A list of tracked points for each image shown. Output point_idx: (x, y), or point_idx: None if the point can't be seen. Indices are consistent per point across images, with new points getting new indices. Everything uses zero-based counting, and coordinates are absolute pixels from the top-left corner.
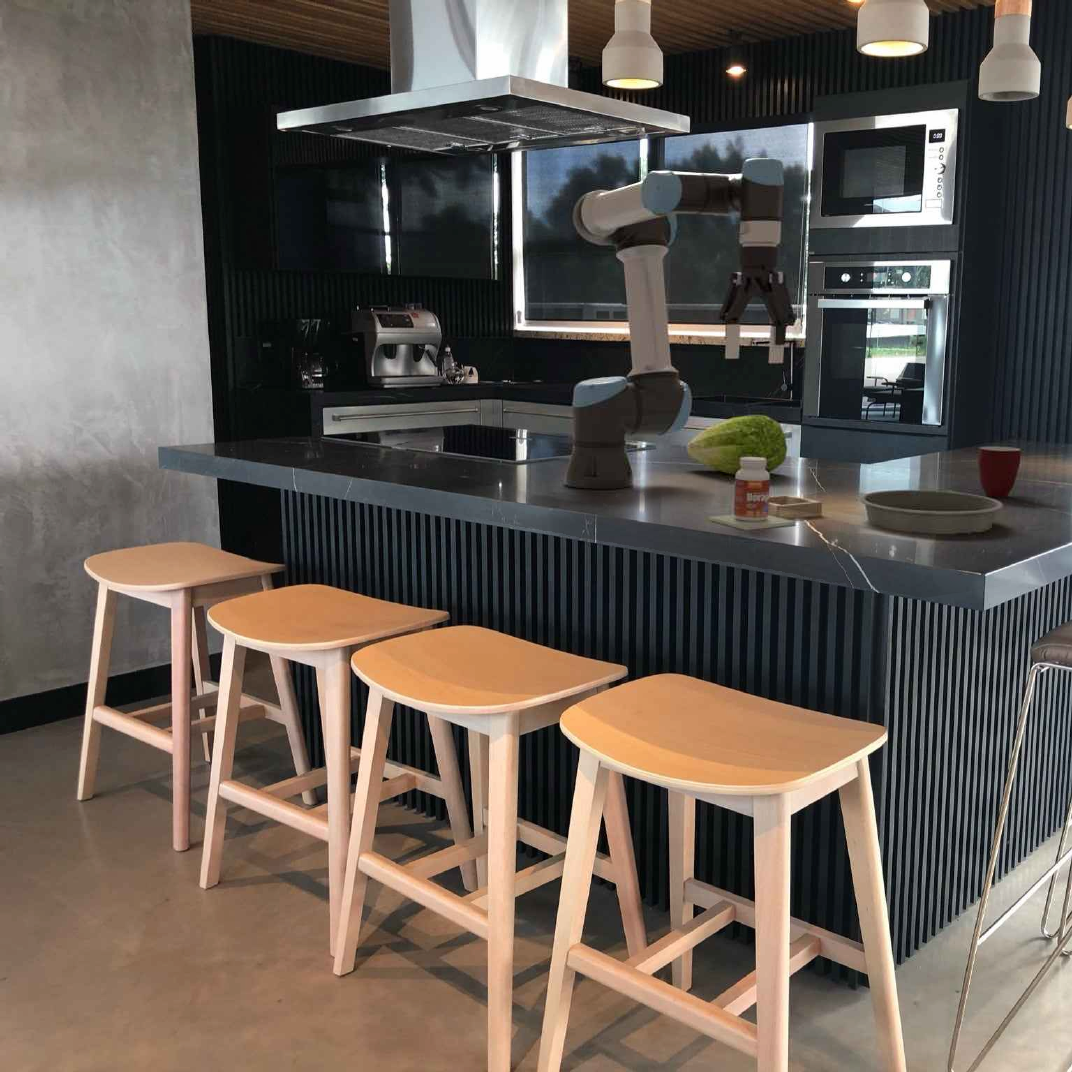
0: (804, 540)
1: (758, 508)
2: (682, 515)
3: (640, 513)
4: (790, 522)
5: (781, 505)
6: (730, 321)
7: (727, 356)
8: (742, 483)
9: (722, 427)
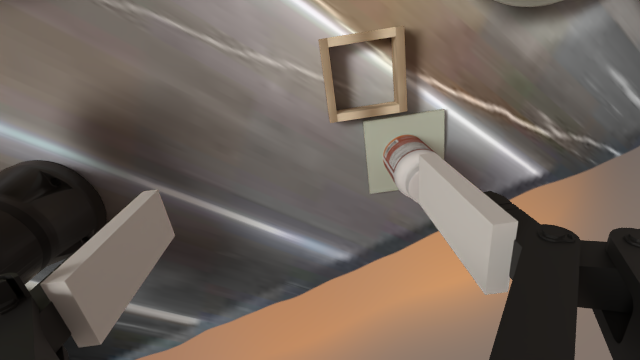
0: (523, 151)
1: None
2: (327, 205)
3: (298, 241)
4: (444, 118)
5: (402, 106)
6: (56, 345)
7: (171, 239)
8: None
9: None
